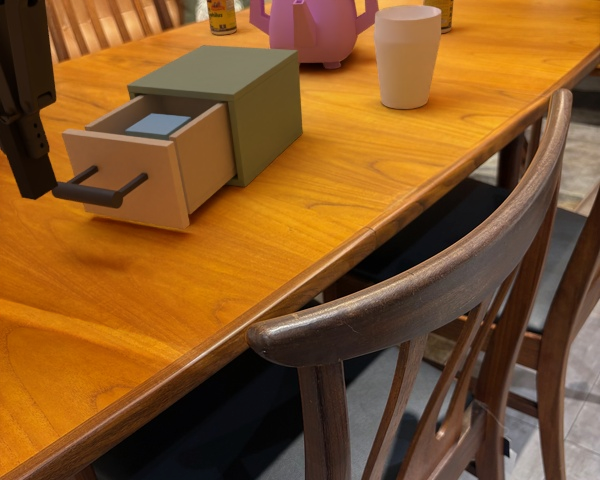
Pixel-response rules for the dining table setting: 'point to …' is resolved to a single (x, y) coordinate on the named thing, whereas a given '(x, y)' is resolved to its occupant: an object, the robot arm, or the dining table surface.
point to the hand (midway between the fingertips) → (40, 191)
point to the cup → (406, 53)
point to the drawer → (150, 161)
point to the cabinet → (239, 97)
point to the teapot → (314, 27)
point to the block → (157, 126)
